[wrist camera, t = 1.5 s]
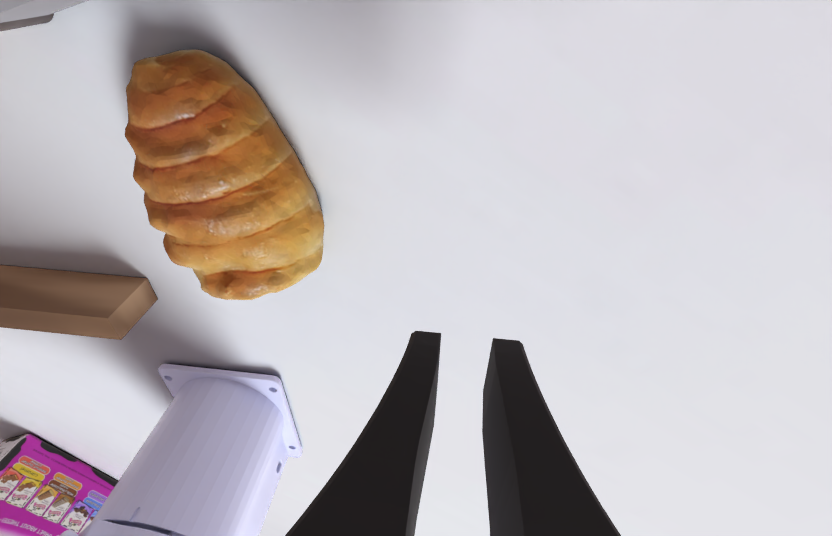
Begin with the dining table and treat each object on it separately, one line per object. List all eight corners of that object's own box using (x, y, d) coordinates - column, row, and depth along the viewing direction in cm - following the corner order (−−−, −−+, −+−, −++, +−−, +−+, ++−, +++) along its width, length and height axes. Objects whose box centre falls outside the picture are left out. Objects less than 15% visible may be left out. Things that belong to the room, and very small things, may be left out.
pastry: (107, 60, 15) (18, 89, 12) (272, 29, 14) (218, 53, 11) (219, 261, 21) (177, 314, 18) (345, 252, 20) (322, 307, 17)
